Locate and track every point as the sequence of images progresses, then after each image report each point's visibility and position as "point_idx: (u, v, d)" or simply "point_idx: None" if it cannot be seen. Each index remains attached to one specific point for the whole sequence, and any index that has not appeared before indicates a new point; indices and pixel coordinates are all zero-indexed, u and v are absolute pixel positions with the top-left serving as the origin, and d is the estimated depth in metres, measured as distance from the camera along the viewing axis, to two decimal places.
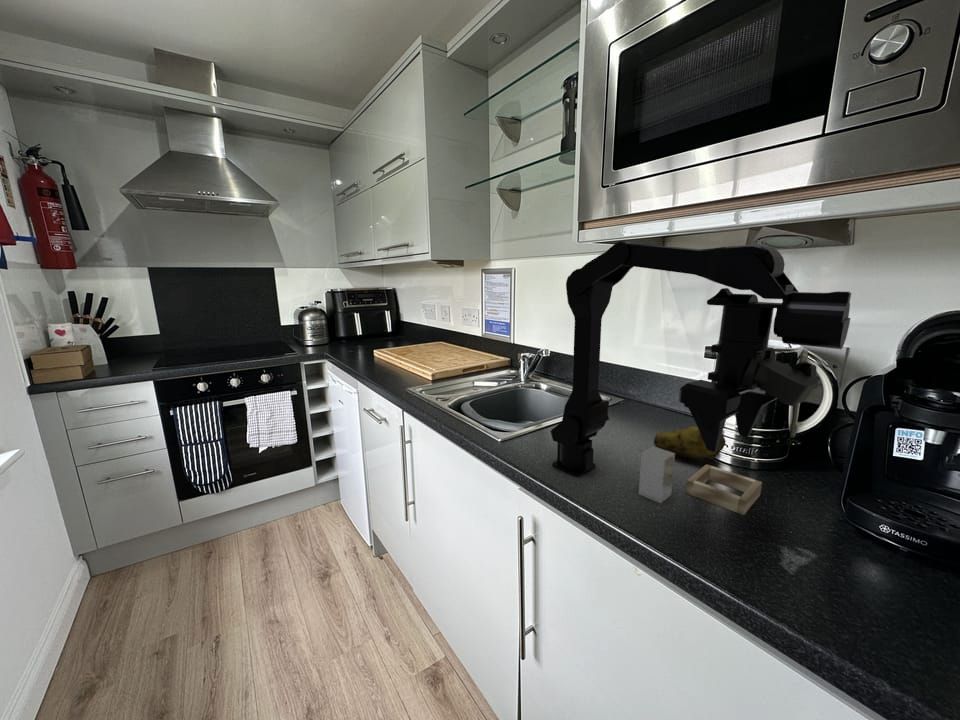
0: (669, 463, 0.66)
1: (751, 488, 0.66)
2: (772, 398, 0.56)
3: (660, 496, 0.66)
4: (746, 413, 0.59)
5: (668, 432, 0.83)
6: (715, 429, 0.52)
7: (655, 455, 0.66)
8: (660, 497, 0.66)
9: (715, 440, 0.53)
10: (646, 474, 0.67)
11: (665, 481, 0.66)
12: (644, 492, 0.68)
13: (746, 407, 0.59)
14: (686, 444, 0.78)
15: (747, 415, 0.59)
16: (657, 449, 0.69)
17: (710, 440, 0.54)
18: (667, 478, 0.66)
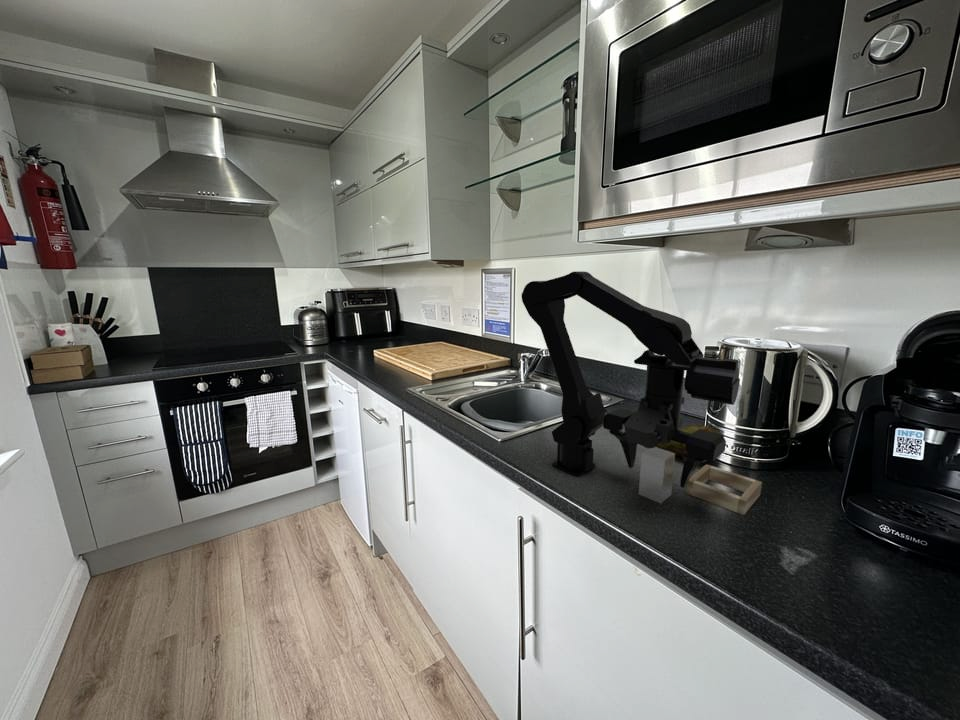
0: (669, 463, 0.66)
1: (751, 488, 0.66)
2: (683, 455, 0.61)
3: (660, 496, 0.66)
4: None
5: None
6: None
7: (655, 455, 0.66)
8: (660, 497, 0.66)
9: (626, 457, 0.71)
10: (646, 474, 0.67)
11: (665, 481, 0.66)
12: (644, 492, 0.68)
13: None
14: None
15: None
16: (657, 449, 0.69)
17: None
18: (667, 478, 0.66)
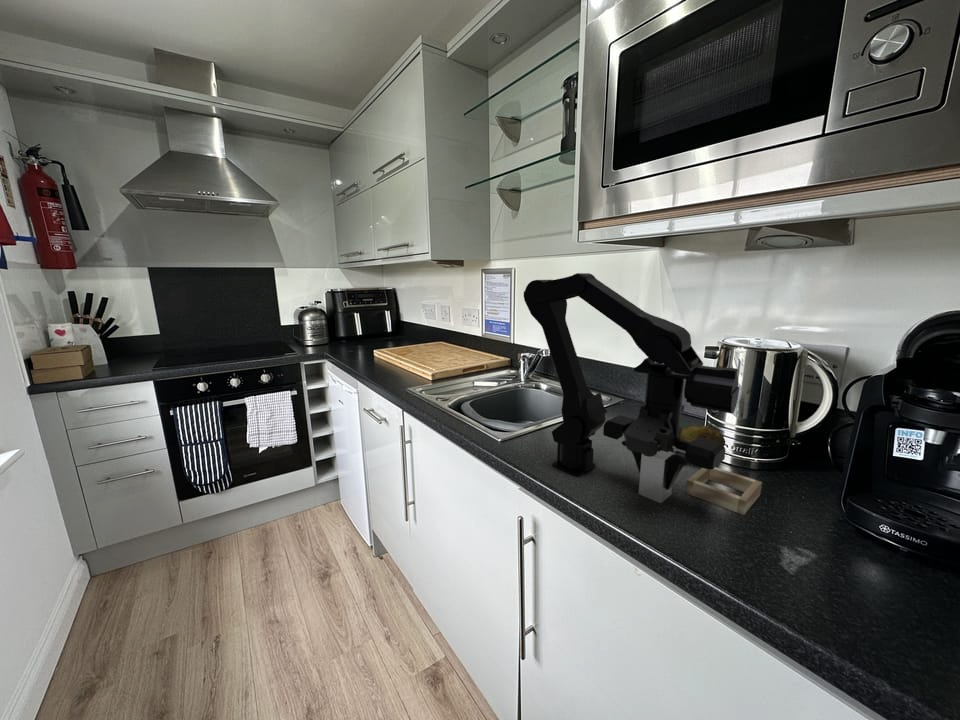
0: None
1: (751, 488, 0.66)
2: None
3: (660, 496, 0.66)
4: None
5: None
6: None
7: None
8: (660, 497, 0.66)
9: (638, 468, 0.70)
10: (646, 474, 0.67)
11: (665, 481, 0.66)
12: (644, 492, 0.68)
13: None
14: None
15: None
16: None
17: None
18: None
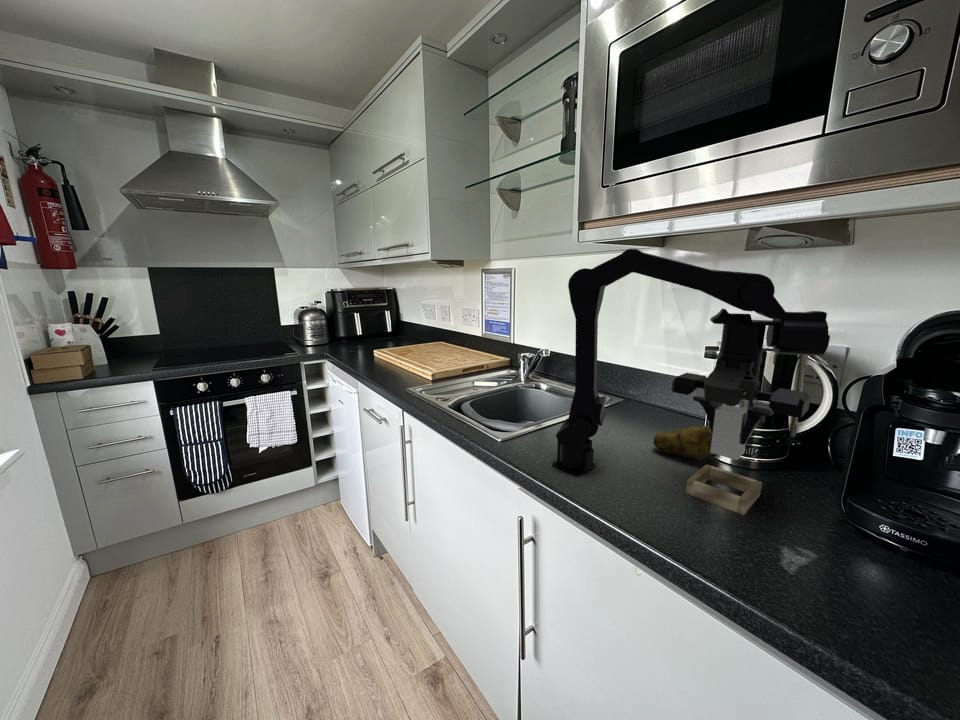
0: (745, 419, 0.64)
1: (751, 488, 0.66)
2: (747, 410, 0.61)
3: (736, 453, 0.64)
4: None
5: (668, 432, 0.83)
6: None
7: (730, 410, 0.65)
8: (736, 454, 0.64)
9: None
10: (721, 430, 0.65)
11: (741, 437, 0.64)
12: (717, 450, 0.66)
13: None
14: (686, 444, 0.78)
15: None
16: (730, 406, 0.67)
17: None
18: None
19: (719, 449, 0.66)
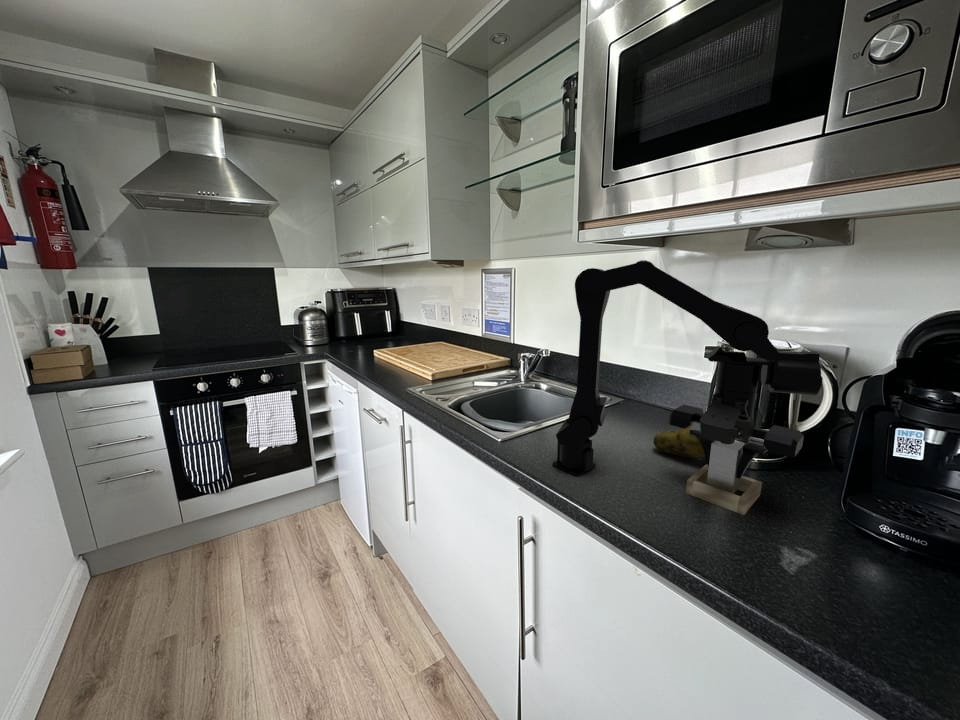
0: (741, 454, 0.65)
1: (751, 488, 0.66)
2: None
3: (731, 487, 0.65)
4: None
5: (667, 432, 0.83)
6: None
7: (726, 445, 0.66)
8: (731, 488, 0.65)
9: (706, 458, 0.69)
10: (716, 465, 0.67)
11: (736, 472, 0.65)
12: (713, 484, 0.68)
13: None
14: (686, 444, 0.78)
15: None
16: None
17: None
18: None
19: (715, 483, 0.67)
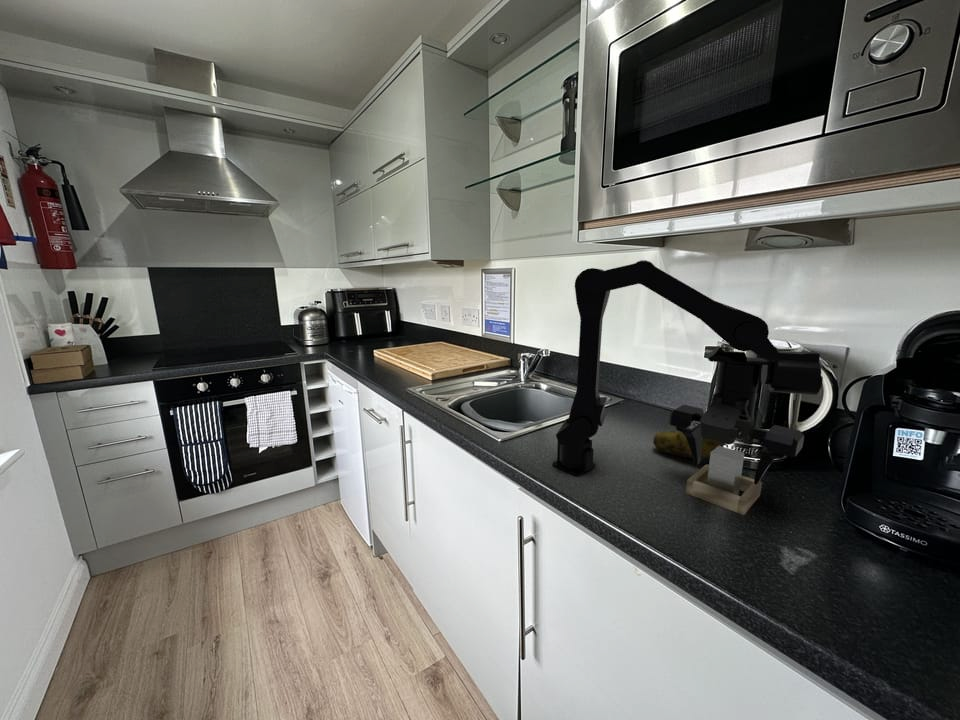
0: (739, 463, 0.66)
1: (751, 488, 0.66)
2: None
3: None
4: None
5: (667, 432, 0.83)
6: None
7: (725, 454, 0.66)
8: None
9: (692, 453, 0.71)
10: (716, 473, 0.67)
11: (735, 481, 0.66)
12: None
13: None
14: (686, 444, 0.78)
15: None
16: (725, 449, 0.68)
17: None
18: (737, 477, 0.66)
19: None
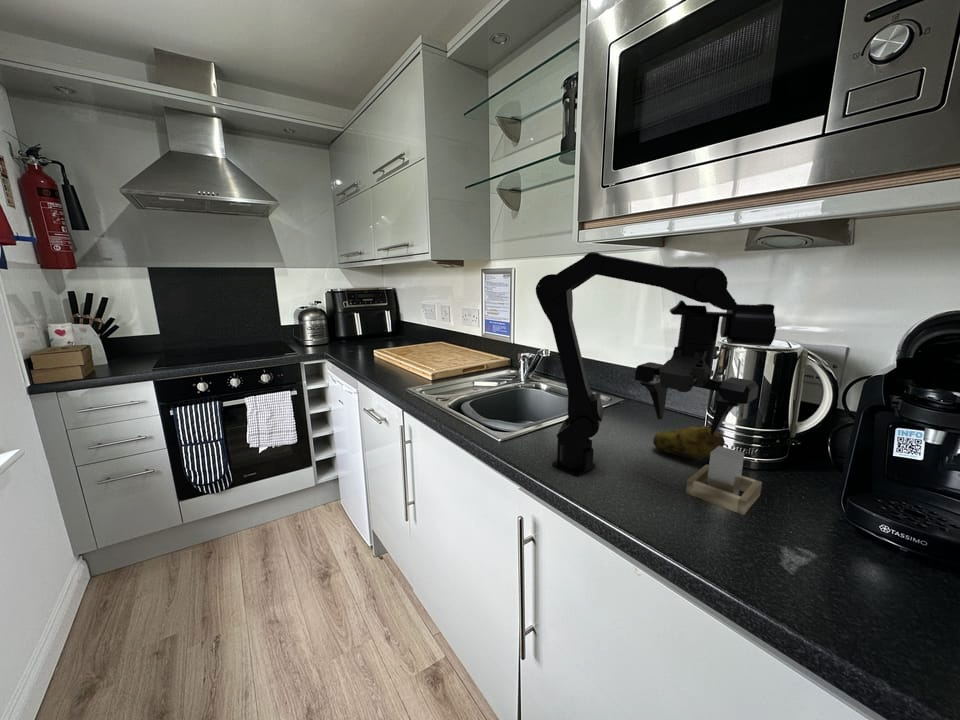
0: (739, 463, 0.66)
1: (751, 488, 0.66)
2: (716, 400, 0.63)
3: None
4: None
5: (667, 432, 0.83)
6: None
7: (725, 454, 0.66)
8: None
9: (655, 408, 0.73)
10: (715, 473, 0.67)
11: (735, 481, 0.66)
12: None
13: None
14: (685, 444, 0.78)
15: None
16: (725, 449, 0.68)
17: None
18: (737, 477, 0.66)
19: None
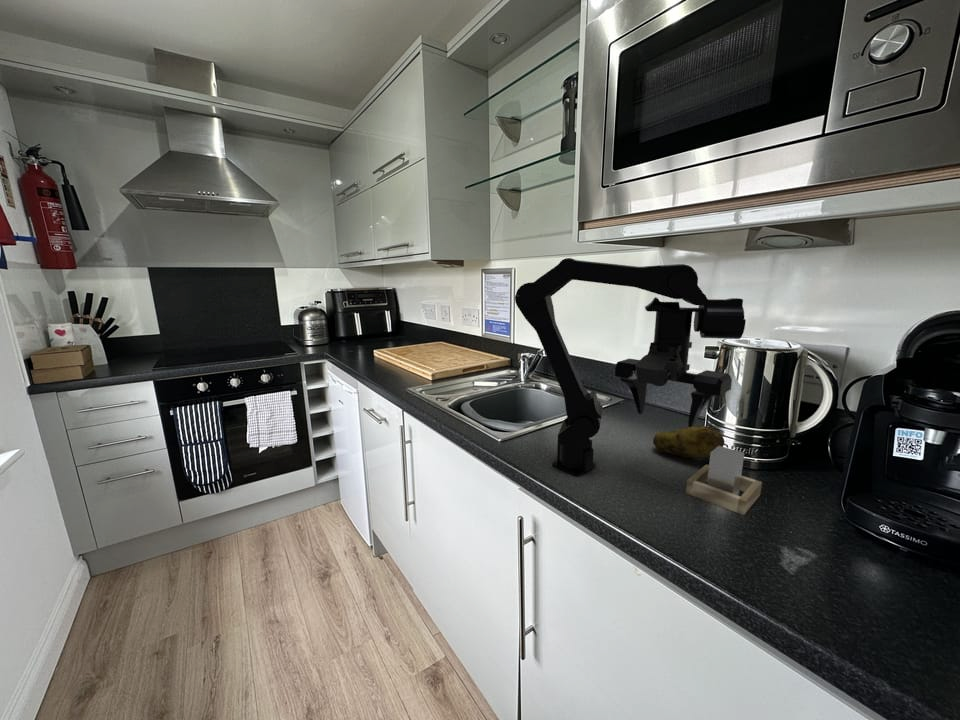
0: (739, 463, 0.66)
1: (751, 488, 0.66)
2: (691, 393, 0.65)
3: None
4: None
5: (667, 432, 0.83)
6: None
7: (725, 454, 0.66)
8: None
9: (635, 403, 0.75)
10: (715, 473, 0.67)
11: (735, 481, 0.66)
12: None
13: None
14: (685, 444, 0.78)
15: None
16: (725, 449, 0.68)
17: None
18: (737, 477, 0.66)
19: None
